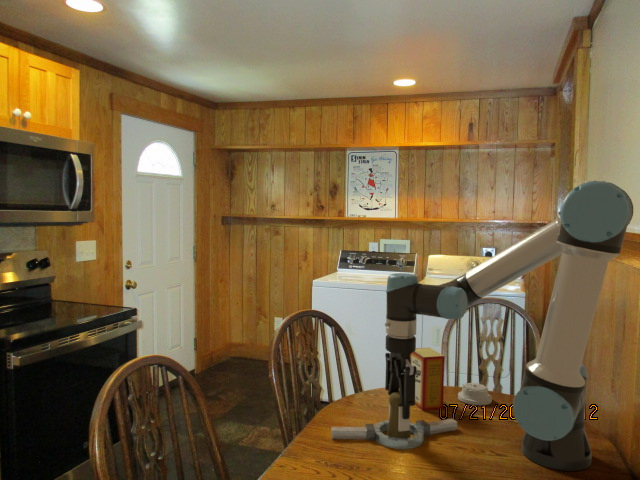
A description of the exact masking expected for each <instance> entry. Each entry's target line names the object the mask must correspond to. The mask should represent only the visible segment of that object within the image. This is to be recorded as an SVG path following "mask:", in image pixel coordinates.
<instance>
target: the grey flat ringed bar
mask: <svg viewBox="0 0 640 480" xmlns="http://www.w3.org/2000/svg"><path fill="white" fill-rule="evenodd" d="M388 423H389V419H385V420H381V421H379V422H377V423H375V425H374V423H364V424H365V425H364V426H331V439H332V440H366V441H368V442H369V441H370V442H373V441H375V442H376V443H378V444H379V445H381V446H383V447H386V448H390V449H394V450H395V449H396V450H411V449H414V448H415V449H416V448H418V447H420V446H421V445H423V443H424V441H425V438H426V437H431V435H436V434H441V433H446V432H452V431H453V432H454V431H457V430H458V421H456V420H455V419H454V418H447V419H442V420H433V421H430V422H426V421H425V420H424V419H418V420H416V421H415V423H414V422H412V421H411V422H410V434H413V436H410V438H394V437H389V436H387V434H384V433H383V432H387V430H388Z"/></svg>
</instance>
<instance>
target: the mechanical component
mask: <svg viewBox="0 0 640 480" xmlns="http://www.w3.org/2000/svg"><path fill="white" fill-rule="evenodd" d="M461 387H462V389H461V391H459V392H458V393H457V398H458V400H459V401H461V402H463V403H464V404H468V405H472V406H486V405H490V404H491V403H492V401H493V396H492V395H490V394H489V388H488V386H485V385H484V384H480V383H479V382H468V383H467V382H466V383H465V384H462V386H461Z"/></svg>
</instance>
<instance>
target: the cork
mask: <svg viewBox="0 0 640 480" xmlns="http://www.w3.org/2000/svg"><path fill="white" fill-rule="evenodd" d="M389 396H390V397H389ZM389 396H388V404H389V403H390V405H391V410H390V417H389V416H388V420H389V423H388V430H386V435H387V436H389V437H394V438H410V437H411V432H410V430H409V431H400V432H399V431H398V417H399V406H398V404H401V402H400V392H394V393H392V394H391V395H389Z"/></svg>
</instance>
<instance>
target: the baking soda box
mask: <svg viewBox="0 0 640 480" xmlns="http://www.w3.org/2000/svg"><path fill="white" fill-rule="evenodd" d="M410 359H411V365H412V366H416V368H417V370H416V375H415V406H417V408H419V409H420V410H421V411H422V412H424V411H435V410H443V409H444V389H445V388H444V385H445V359H446V357H445V355H443V354H441V353H440V352H438V351H436V350H435V349H433V348H431V347H417V348H416V350H415V352H413V353H411V354H410Z"/></svg>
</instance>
